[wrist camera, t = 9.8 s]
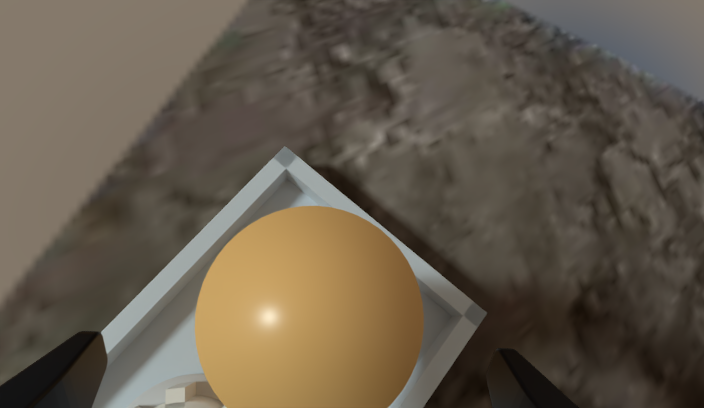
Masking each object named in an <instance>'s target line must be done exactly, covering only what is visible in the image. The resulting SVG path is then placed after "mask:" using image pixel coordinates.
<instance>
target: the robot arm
mask: <svg viewBox="0 0 704 408" xmlns="http://www.w3.org/2000/svg"><path fill="white" fill-rule="evenodd" d="M107 363H108V357H107V352H106V348H105V344H104V339H103V336H102V334H101V333H100V332H95V331H81V332H78V333H76V334H75V335H73V336H72V337H71V338H69V339H68V340H66V341H65V342H63V343H62V344H60V345H59V346H57V347H56V348H55V349H53V350H52V351H50V352H49V353H47V354H46V355H44V356H43V357H41V358H40V359H39V360H37V361H36V362H34V363H33V364H31V365H30V366H28V367H27V368H25V369H24V370H23V371H21V372H20V373H18V374H17V375H15V376H14V377H12V378H11V379H10V380H8V381H7V382H5V383H4V384H2V385H1V386H0V408H92V406H93V403H94V401H95V398H96V395H97V392H98V390H99V387H100V384H101V382H102V379H103V376H104V374H105V371H106V368H107ZM487 383H488V388H489V393H490V397H491V402H492V407H493V408H579V407H578V406H577V405H575V404H574V403H573V402H572V401H571V400H570V399H569V398H568V397H567V396H566V395H564V394H563V393H562V392H561V391H560V390H559V389H558V388H557V387H556V386H555V385H553V384H552V383H551V382H550V381H549V380H548V379H547V378H546V377H545V376H544V375H542V374H541V373H540V372H539V371H538V370H537V369H536V368H535V367H534V366H533V365H531V364H530V363H529V362H528V361H527V360H526V359H525V358H524V357H523V356H522V355H520V354H519V353H518V352H517V351H516V350H514V349H508V348H498V349H496V350H495V352H494V355H493V357H492V360H491V363H490V365H489V368H488V371H487Z"/></svg>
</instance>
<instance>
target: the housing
mask: <svg viewBox="0 0 704 408" xmlns="http://www.w3.org/2000/svg"><path fill="white" fill-rule="evenodd" d="M299 206H324V207H332V208H336V209H341V210H344V211H347V212H350V213H353V214H355V215H358V216H359V217H361V218H363V219H365V220H367V221H369V222H371V223H372V224H373V225H375V226H376V227H378V228H379V229H381V230H382V231H383V232H384V233H385V234H386V235H387V236H388V237H390V238H391V240H392V241H393V242H394V243H395V244H396V245H397V246H398V248H399V249H400V250H401V252H402V253H403V255H404V256H405V257H406V259H407V260H408V262H409V264H410V266H411V268H412V270H413V272H414V274H415V277H416V280H417V283H418V285H419V289H420V293H421V298H422V303H423V313H424V331H423V338H422V345H421V349H420V353H419V356H418V360H417V363H416V365H415V368H414V370H413V372H412V375H411V377H410V378H409V380H408V382H407V384H406V385H405V387H404V389H403V390H402V392H401V393H400V394H399V395H398V397H397V398H396V399H395V401H394V402H393V403H392V404H391V405H390V406H389V407H388V408H423V407H424V406H425V404H426V403H427V401H428V400H429V398H430V397H431V395H432V394H433V392H434V391H435V389H436V388H437V386H438V385H439V383H440V382H441V381H442V379H443V378H444V376H445V375H446V373H447V372H448V370H449V369H450V367H451V366H452V364H453V363H454V361H455V360H456V358H457V357H458V356H459V354H460V353H461V351H462V350H463V348H464V347H465V345H466V344H467V342H468V341H469V339H470V338H471V336H472V335H473V333H474V332H475V331H476V329H477V328H478V326H479V325H480V323H481V322H482V320H483V319H484V317H485V316H486V314H487V312H486V311H484V310H483V309H482V308H481V307H479V306H478V305H477V304H476V303H475V302H473V301H472V300H471V299H470V298H469V297H467V296H466V295H465V294H464V293H462V292H461V291H460V290H459V289H458V288H456V287H455V286H454V285H453V284H452V283H450V282H449V281H448V280H447V279H445V278H444V277H443V276H442V275H441V274H439V273H438V272H437V271H436V270H435V269H433V268H432V267H431V266H430V265H429V264H427V263H426V262H425V261H424V260H422V259H421V258H420V257H419V256H418V255H416V254H415V253H414V252H413V251H412V250H410V249H409V248H408V247H407V246H405V245H404V244H403V243H402V242H401V241H399V240H398V239H397V238H396V237H395V236H393V235H392V234H391V233H390V232H388V231H387V230H386V229H385V228H384V227H382V226H381V225H380V224H379V223H378V222H376V221H375V220H374V219H373V218H372V217H370V216H369V215H368V214H367V213H365V212H364V211H363V210H362V209H361V208H359V207H358V206H357V205H356V204H355V203H353V202H352V201H351V200H350V199H348V198H347V197H346V196H345V195H344V194H342V193H341V192H340V191H339V190H338V189H336V188H335V187H334V186H333V185H331V184H330V183H329V182H328V181H327V180H325V179H324V178H323V177H322V176H321V175H319V174H318V173H317V172H316V171H315V170H313V169H312V168H311V167H310V166H308V165H307V164H306V163H305V162H304V161H302V160H301V159H300V158H299V157H298V156H296V155H295V154H294V153H293V152H291V151H290V150H289V149H288V148H287V147H285V146H284V147H283V148H282V149H281V150H280V151H279V152H278V153H277V155H276V156H275V157H274V158H273V159H272V160H271V161H270V162H269V163H268V164H267V165H266V166H265V167H264V168H263V169H262V170H261V171H260V172H259V173H258V174H257V175H256V176H255V177H254V178H253V179H252V180H251V181H250V182H249V183H248V184H247V185H246V186H245V187H244V188H243V189H242V190H241V191H240V192H239V193H238V194H237V195H236V196H235V197H234V198H233V199H232V200H231V201H230V202H229V203H228V204H227V205H226V206H225V207H224V208H223V209H222V210H221V211H220V212H219V213H218V214H217V215H216V216H215V217H214V218H213V219H212V220H211V221H210V222H209V223H208V224H207V225H206V227H205V228H204V229H203V230H202V231H201V232H200V233H199V234H198V235H197V236H196V237H195V238H194V239H193V240H192V241H191V242H190V243H189V244H188V245H187V246H186V247H185V248H184V249H183V250H182V251H181V252H180V253H179V254H178V255H177V256H176V257H175V258H174V259H173V260H172V261H171V262H170V263H169V264H168V265H167V266H166V267H165V268H164V269H163V270H162V271H161V272H160V273H159V274H158V275H157V276H156V277H155V278H154V279H153V280H152V281H151V282H150V283H149V284H148V285H147V286H146V287H145V288H144V289H143V290H142V291H141V292H140V293H139V294H138V295H137V296H136V297H135V298H134V300H133V301H132V302H131V303H130V304H129V305H128V306H127V307H126V308H125V309H124V310H123V311H122V312H121V313H120V314H119V315H118V316H117V317H116V318H115V319H114V320H113V321H112V322H111V323H110V324H109V325H108V326H107V327H106V328H105V329H104V330H103V331H102V332H101V334H102V336H103V339H104V344H105V348H106V352H107V357H108V363H107V368H106V371H105V374H104V376H103V379H102V382H101V384H100V387H99V390H98V392H97V395H96V398H95V401H94V403H93V406H92V408H227V407H226V406H225V405H224V404H223V403H222V402H221V401H220V399H219V398H218V397H217V395H216V394H215V393H214V391H213V390H212V388H211V386H210V384H209V382H208V380H207V379H206V377H205V374H204V371H203V369H202V366H201V364H200V360H199V356H198V352H197V347H196V339H195V313H196V307H197V301H198V297H199V293H200V290H201V287H202V284H203V281H204V279H205V277H206V275H207V273H208V270H209V268H210V267H211V265H212V263H213V262H214V260H215V259H216V257H217V256H218V254H219V253H220V252H221V250H222V249H223V248H224V247H225V245H226V244H227V243H228V242H229V241H230V240H231V239H232V238H233V237H234V236H235V235H236V234H238V233H239V232H240V231H242V230H243V229H244V228H246V227H247V226H248V225H250V224H251V223H253V222H255V221H257V220H258V219H260V218H262V217H264V216H267V215H269V214H271V213H274V212H277V211H280V210H284V209H287V208H293V207H299Z"/></svg>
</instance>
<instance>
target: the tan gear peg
mask: <svg viewBox="0 0 704 408" xmlns="http://www.w3.org/2000/svg"><path fill="white" fill-rule="evenodd" d="M423 331H424V313H423V303H422V298H421V293H420V289H419V285H418V283H417V280H416V277H415V274H414V272H413V270H412V268H411V266H410V264H409V262H408V260H407V259H406V257H405V256H404V255H403V253H402V252H401V250H400V249H399V248H398V246H397V245H396V244H395V243H394V242H393V241H392V240H391V238H390V237H388V236H387V235H386V234H385V233H384V232H383V231H382V230H381V229H379V228H378V227H376V226H375V225H373V224H372V223H371V222H369V221H367V220H365V219H363V218H361V217H359V216H358V215H355V214H353V213H350V212H347V211H344V210H341V209H336V208H332V207H324V206H299V207H293V208H287V209H284V210H280V211H277V212H274V213H271V214H269V215H267V216H264V217H262V218H260V219H258V220H257V221H255V222H253V223H251V224H250V225H248V226H247V227H246V228H244V229H243V230H242V231H240V232H239V233H238V234H236V235H235V236H234V237H233V238H232V239H231V240H230V241H229V242H228V243H227V244H226V245H225V247H224V248H223V249H222V250H221V252H220V253H219V254H218V256H217V257H216V259H215V260H214V262H213V263H212V265H211V267H210V268H209V270H208V273H207V275H206V277H205V279H204V281H203V284H202V287H201V290H200V293H199V297H198V301H197V307H196V313H195V339H196V347H197V352H198V356H199V360H200V364H201V366H202V369H203V371H204V374H205V377H206V379H207V380H208V382H209V384H210V386H211V388H212V390H213V391H214V393H215V394H216V395H217V397H218V398H219V399H220V401H221V402H222V403H223V404H224V405H225V406H226V407H227V408H388V407H389V406H390V405H391V404H392V403H393V402H394V401H395V399H396V398H397V397H398V395H399V394H400V393H401V392H402V390H403V389H404V387H405V385H406V384H407V382H408V380H409V378H410V377H411V375H412V372H413V370H414V368H415V365H416V363H417V360H418V356H419V353H420V349H421V345H422V338H423Z"/></svg>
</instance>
